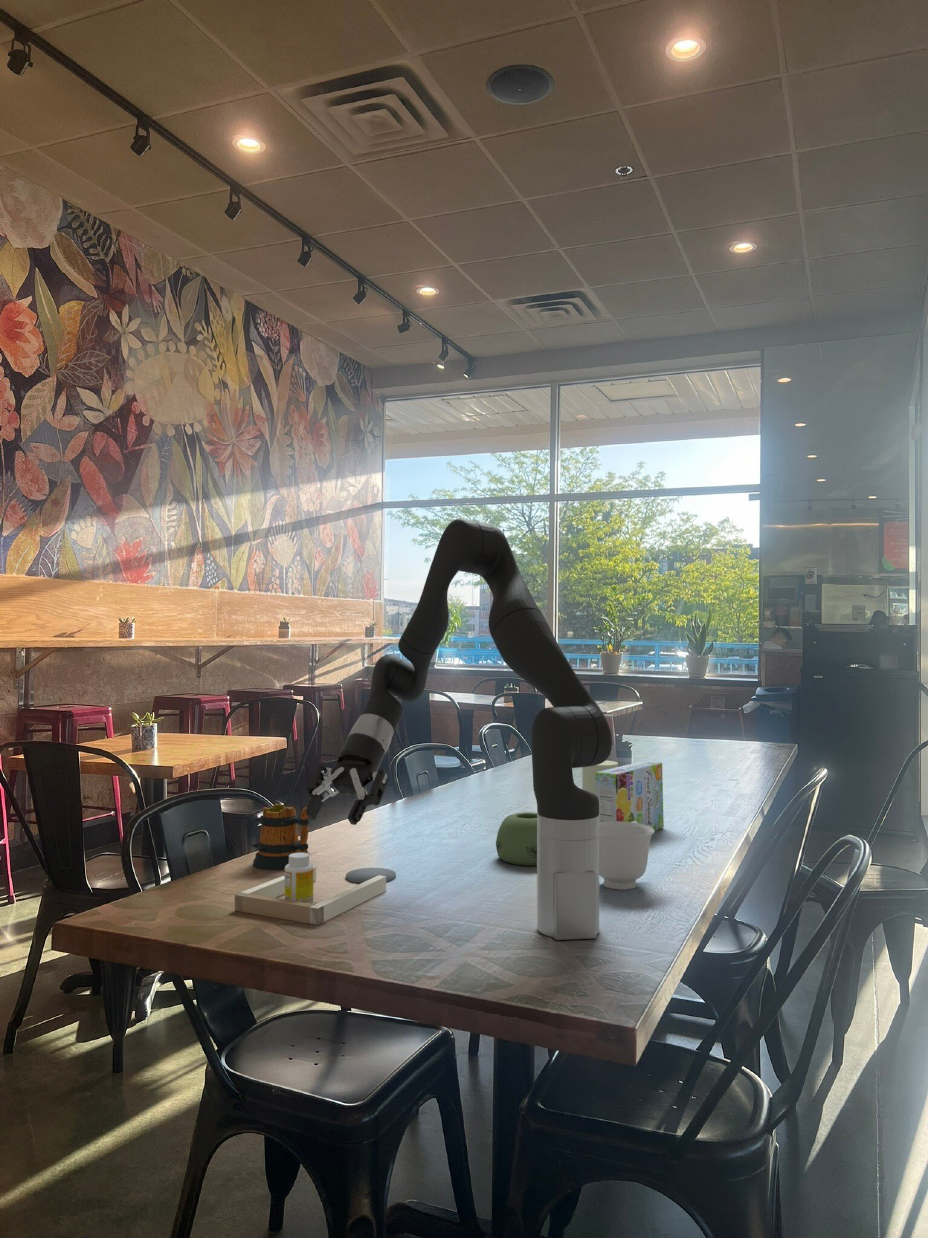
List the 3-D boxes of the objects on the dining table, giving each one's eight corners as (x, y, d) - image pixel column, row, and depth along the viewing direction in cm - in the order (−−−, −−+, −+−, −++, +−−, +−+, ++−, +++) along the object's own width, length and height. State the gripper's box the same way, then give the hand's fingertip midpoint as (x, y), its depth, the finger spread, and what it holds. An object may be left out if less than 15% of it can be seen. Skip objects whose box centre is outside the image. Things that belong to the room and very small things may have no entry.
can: (574, 806, 229) (574, 759, 229) (604, 803, 233) (604, 757, 233) (594, 813, 221) (594, 764, 221) (625, 810, 225) (625, 762, 225)
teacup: (669, 878, 162) (669, 822, 162) (641, 899, 149) (641, 839, 149) (606, 869, 168) (606, 815, 168) (574, 888, 155) (574, 830, 155)
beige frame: (309, 879, 160) (309, 865, 160) (386, 891, 153) (386, 876, 153) (234, 910, 142) (234, 894, 142) (317, 925, 135) (318, 908, 135)
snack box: (642, 825, 207) (642, 760, 207) (664, 828, 203) (664, 762, 204) (594, 841, 190) (594, 770, 191) (617, 845, 187) (618, 773, 187)
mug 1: (240, 866, 169) (240, 805, 170) (277, 854, 178) (277, 796, 178) (292, 875, 163) (293, 812, 163) (328, 863, 172) (328, 803, 172)
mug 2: (543, 872, 166) (543, 825, 166) (483, 862, 173) (483, 817, 173) (578, 853, 180) (578, 810, 180) (521, 845, 187) (521, 804, 187)
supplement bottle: (318, 904, 146) (318, 852, 146) (305, 912, 141) (305, 859, 141) (292, 902, 147) (292, 850, 147) (279, 910, 143) (279, 857, 143)
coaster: (397, 883, 158) (397, 880, 158) (346, 885, 157) (346, 882, 157) (394, 869, 167) (394, 867, 167) (345, 871, 166) (345, 868, 166)
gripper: (326, 729, 163) (286, 803, 153) (393, 733, 157) (357, 810, 147) (342, 755, 168) (305, 828, 158) (408, 760, 162) (374, 836, 151)
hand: (330, 819), depth 152 cm, fingers open, 8 cm apart
